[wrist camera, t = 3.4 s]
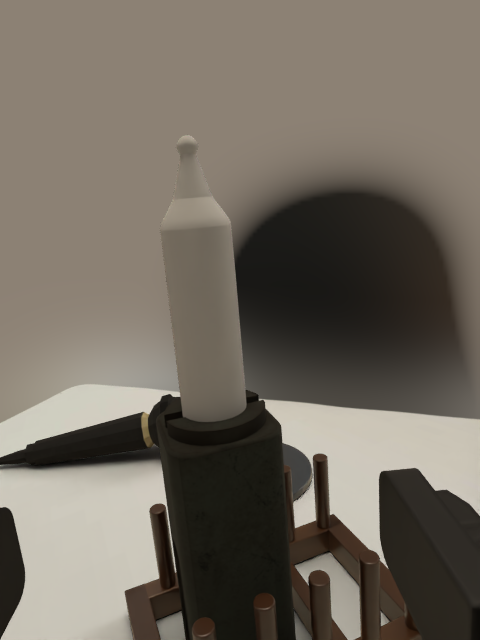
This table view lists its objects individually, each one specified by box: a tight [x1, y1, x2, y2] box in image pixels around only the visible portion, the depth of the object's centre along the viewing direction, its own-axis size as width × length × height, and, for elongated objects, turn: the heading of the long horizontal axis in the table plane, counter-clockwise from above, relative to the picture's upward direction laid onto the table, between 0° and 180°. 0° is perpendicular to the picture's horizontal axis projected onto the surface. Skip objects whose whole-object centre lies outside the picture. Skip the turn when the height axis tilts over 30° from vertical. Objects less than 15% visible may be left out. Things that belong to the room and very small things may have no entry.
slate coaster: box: [282, 443, 312, 501], centre depth 39 cm, size 10×10×1 cm
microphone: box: [0, 394, 180, 465], centre depth 44 cm, size 6×6×20 cm
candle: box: [156, 135, 296, 640], centre depth 21 cm, size 5×5×25 cm
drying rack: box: [125, 454, 423, 640], centre depth 24 cm, size 14×9×6 cm
